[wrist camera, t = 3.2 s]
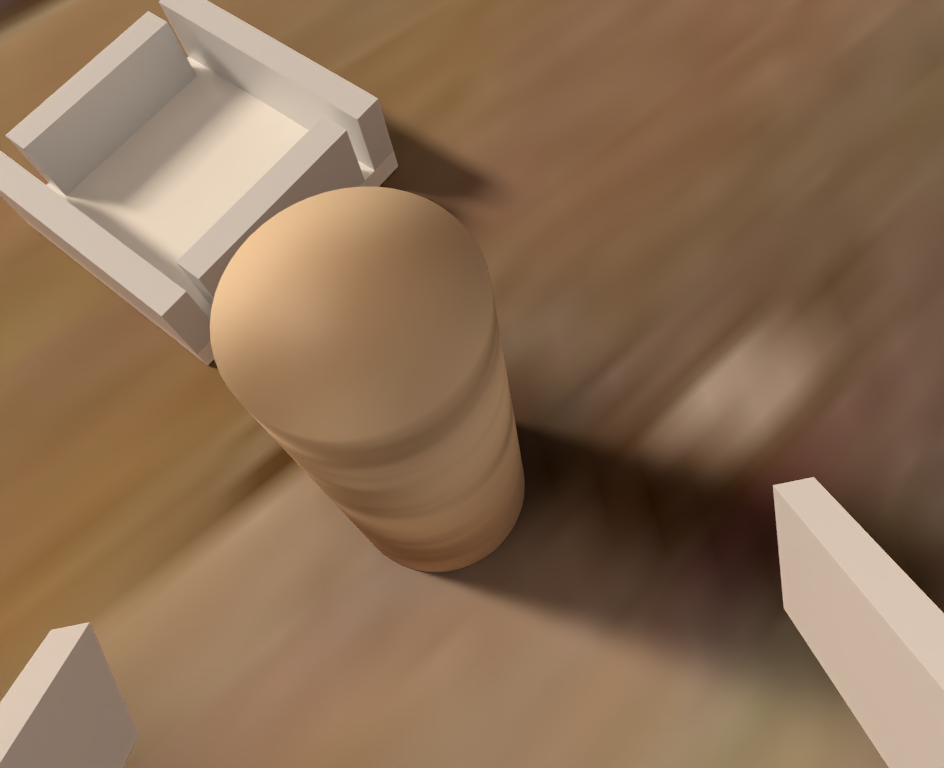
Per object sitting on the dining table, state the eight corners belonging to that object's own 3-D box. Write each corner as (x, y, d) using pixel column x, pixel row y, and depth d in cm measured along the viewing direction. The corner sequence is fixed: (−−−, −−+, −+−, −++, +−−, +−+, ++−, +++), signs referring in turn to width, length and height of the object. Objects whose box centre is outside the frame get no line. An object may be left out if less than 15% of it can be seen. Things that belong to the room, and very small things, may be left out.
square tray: (30, 225, 36) (-31, 166, 32) (215, 56, 39) (179, -16, 35) (207, 365, 32) (161, 316, 29) (398, 166, 35) (378, 98, 32)
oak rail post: (320, 502, 30) (153, 333, 18) (428, 377, 31) (339, 145, 19) (451, 609, 28) (359, 498, 16) (559, 469, 29) (550, 273, 17)
